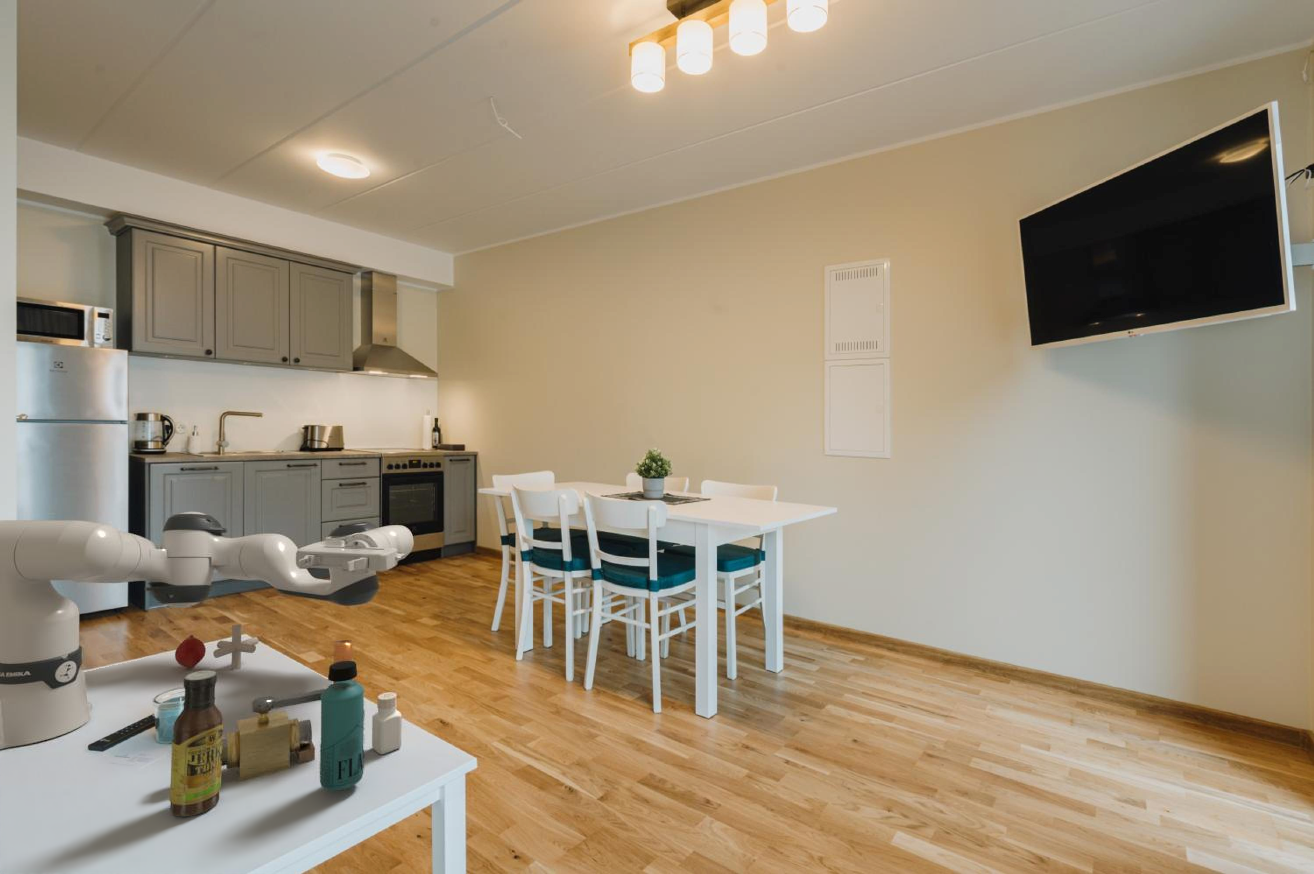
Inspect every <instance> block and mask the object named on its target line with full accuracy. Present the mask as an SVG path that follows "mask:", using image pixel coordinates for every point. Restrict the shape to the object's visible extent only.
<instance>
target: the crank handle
mask: <svg viewBox="0 0 1314 874" xmlns="http://www.w3.org/2000/svg"><path fill="white" fill-rule="evenodd" d="M353 642H354V641H353V640H351V639H350V640H349V639H345V640H343V639H342V640H338V641H335V642H334V643H333V664H334V663H337V662H340V661H353ZM351 680H352V681H353V679H351ZM332 682H333V681H332ZM333 683H335V682H333ZM333 683H332V684H333ZM325 689H326V688H321V689H316V690H315V689H314V690H309V691H305V692H299V693H294V694H287V695H283V696H277V697H275V696H273V695H263V696H259V697H256V698H254V699H253V700H252V702H251V704H252V706H251V707H252V709H251V710H252V713H255V714H258V713H262V712H267V711H269V712H270V711H272V710H274V709H280V708H285V707H286V708H287V707H292V706H296V705H302V704H309V703H313V702H317V701H321V694H322V692H323V691H324V690H325Z"/></svg>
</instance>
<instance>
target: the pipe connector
mask: <svg viewBox="0 0 1314 874" xmlns="http://www.w3.org/2000/svg"><path fill="white" fill-rule="evenodd" d="M258 644H259V638H258V637H257V636H254V637H251V638H248V639H245V640H242V624H234V625H232V626H231V641H228V640H219V641H217V644H216V648H217V649H214V651H213V653H212V654H213V657H214V658H215V659H216V658H220V657H224V656H226V655H229V654H231V670H232V669H233V670H234V669H236V670H240V669H241V668H242V653H248V654H253V653H255V651H256V650H257V647H256V645H258ZM239 668H240V669H239ZM233 670H232V671H233ZM234 671H235V670H234Z"/></svg>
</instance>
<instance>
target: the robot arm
mask: <svg viewBox="0 0 1314 874" xmlns="http://www.w3.org/2000/svg"><path fill="white" fill-rule="evenodd" d="M162 532H163V534H162V537H161V542H160V545H159V546H157V545H156V544H155V543H154V542H153V541H152V540H149V539H148V538H145V537H143V536H141V535H137V534H134V533H130V532H126V531H121V530H117V529H116V528H115V527H114V526H112V525H109V524H104V523H99V522H94V521H87V520H80V519H79V520H76V519H75V520H74V519H73V520H71V519H70V520H69V519H68V520H63V519H62V520H61V519H60V520H59V519H58V520H54V519H53V520H52V519H50V520H49V519H48V520H39V519H38V520H37V519H36V520H34V519H32V520H31V519H30V520H25V519H23V520H19V519H17V520H14V519H12V520H11V519H8V520H6V519H5V520H0V750H3V749H7V748H12V747H17V746H18V747H19V746H24V745H30V744H34V743H38V742H42V741H45V740H49V739H54V738H56V737H59V736H61V735H64V734H68V733H69V732H72V731H74V730H76V729H78V728H80V727H82V726H83V725H85V724H86V723H87V722H88V721H89V720H90V719H91V715H90V711H91V710H92V709H93V705H92V704H93V703H92V702H91V701H88V693H87V686H86V685H87V684H86V677H85V671H84V670H83V669H82V668H81V666H83V658H84V655H83V654H84V652H83V647H82V646H81V645H80V609H79V608H78V607H79V606H77V604H76V603H75V601H73V600H71V599H69V598H67V597H65V596H63V595H62V594H61V593H59V592H58V591H57V590H56V589H55V587H54V586H53V584H52V581H71V582H74V583H88V584H89V583H90V584H91V583H92V584H94V583H96V584H121V583H129V582H139V581H140V582H141V581H144V582H147V584H148V585H149V587H144V591H146V592H150V595H151V596H152V597H153V599H154V600H155V601H157V602H158V603H160V604H161V605H166V606H167V607H170V608H179V609H180V608H189V607H192V606H195V605H197V604H201V603H204V602H205V601H206V600H208V598H209V596H210V593H211V591H212V587H213V586H212V581H213V578H214V574H215V571H217V573H218V574H219V575H220V576H222V577H224V578H227V579H231V580H237V581H238V580H239V581H241V580H242V581H263V582H266V583H268V584H269V585H270V586H272V587H273V588H274V589H275V590H276V591H277V592H278V593H279V594H282V595H286V596H291V597H298V598H304V599H309V600H310V599H311V600H317V601H324V602H329V603H333V604H336V605H339V606H345V607H346V606H347V607H356V606H361V605H364V604H367V603H370V602H371V601H372V599H373V598H374V597H375V596H376V594H377V593H378V591H379V589H380V584H379V579H378V574H377V572H385V571H389V570H390V569H393V568H394V567H396V566H397V565H398V562H399V561H401V560H403V559H405V558H406V557H407V556H408V555H409V554H410V553H411V552H412V550H413V548H414V544H415V542H414V537H413V534H412V532H411V530H410V529H409V528H408V527H406V526H404V525H401V524H400V525H399V524H395V525H393V524H392V525H385V526H382V527H380V526H377V525H375V524H373V523H372V522H368V521H367V522H357V523H352V524H348V525H344V526H341V527H339V526H338V527H336V528H334V529H333V531H331V532H330V533H329V534H328V535H327V536H326V537H325V538H324V540H323V541H318V542H317V541H316V542H314V543H310V544H309V545H305V546H302V547H300V548H298V546H297V545H296V544H295V543H294V541H293V540H292V539H290V538H289V537H288V536H285V535H284V534H279V533H258V534H250V535H245V536H240V537H225V536H224V535H223V534H224V533H228V529H227V528H225V527H223V525H222V524H221V523H220V521H219V520H217V519H216V518H215V517H214V516H212V515H209V514H206V513H203V512H199V511H185V512H180V513H178V514H173V515H172V516H170V517H168V518H167V519H166V522H165V524H164V526H163V529H162ZM308 569H327V570H328V571H329V577H330V578H329V579H324V578H316V577H314V576H312V575H311V573H310V572H309V570H308Z"/></svg>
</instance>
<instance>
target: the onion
mask: <svg viewBox="0 0 1314 874" xmlns="http://www.w3.org/2000/svg"><path fill="white" fill-rule="evenodd" d="M206 649H207V647H206V646H205V643H204V642H202V641H201V640H200V639H199V638H196V637H195V636H194V634H189V637H186V638H185V639H184V640H183V641H182V642H181V643H179V645H178V647H177V648H176V649H175V653H174V658H175V661H176V662H177V664H179V665H180V666H182V667H184V668H187V669H188V670H192V669H193V668H195V667H196V666H197V665H198V664H199V663H200V662H201V661H202V660H203V659H204V657H205V655H206V652H207V651H206Z"/></svg>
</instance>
